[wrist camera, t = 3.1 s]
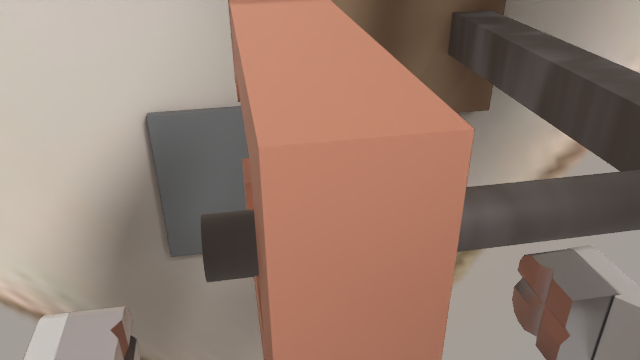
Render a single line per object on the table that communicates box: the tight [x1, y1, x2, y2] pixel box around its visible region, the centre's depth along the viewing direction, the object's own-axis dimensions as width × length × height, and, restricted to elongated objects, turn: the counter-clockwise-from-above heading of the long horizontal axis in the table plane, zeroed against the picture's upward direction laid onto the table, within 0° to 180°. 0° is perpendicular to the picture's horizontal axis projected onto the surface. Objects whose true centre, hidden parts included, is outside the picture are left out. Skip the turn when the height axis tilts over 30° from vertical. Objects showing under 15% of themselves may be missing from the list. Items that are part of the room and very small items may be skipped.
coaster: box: [147, 106, 249, 257], centre depth 34 cm, size 10×10×1 cm
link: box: [228, 0, 474, 360], centre depth 15 cm, size 3×9×12 cm, turn 1°
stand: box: [201, 0, 640, 282], centre depth 22 cm, size 17×10×22 cm, turn 91°
